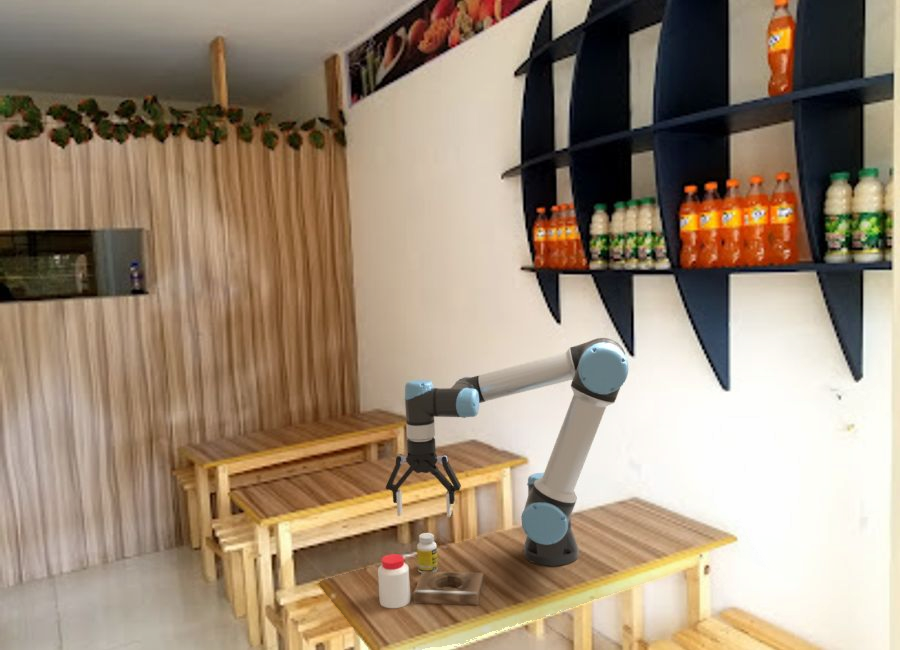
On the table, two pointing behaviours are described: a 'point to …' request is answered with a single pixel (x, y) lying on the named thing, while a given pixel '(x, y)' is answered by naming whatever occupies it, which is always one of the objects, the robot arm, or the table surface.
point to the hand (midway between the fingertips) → (424, 514)
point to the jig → (464, 594)
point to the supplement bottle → (427, 553)
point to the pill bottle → (394, 582)
